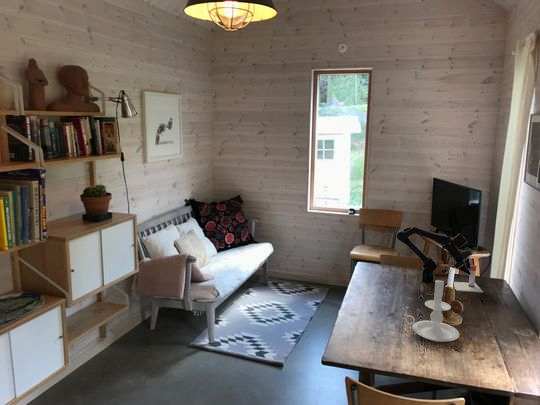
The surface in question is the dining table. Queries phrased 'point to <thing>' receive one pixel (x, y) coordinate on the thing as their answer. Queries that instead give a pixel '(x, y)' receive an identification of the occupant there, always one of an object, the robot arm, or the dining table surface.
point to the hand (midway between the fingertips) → (471, 272)
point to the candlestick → (435, 319)
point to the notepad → (466, 287)
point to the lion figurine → (441, 267)
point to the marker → (472, 276)
